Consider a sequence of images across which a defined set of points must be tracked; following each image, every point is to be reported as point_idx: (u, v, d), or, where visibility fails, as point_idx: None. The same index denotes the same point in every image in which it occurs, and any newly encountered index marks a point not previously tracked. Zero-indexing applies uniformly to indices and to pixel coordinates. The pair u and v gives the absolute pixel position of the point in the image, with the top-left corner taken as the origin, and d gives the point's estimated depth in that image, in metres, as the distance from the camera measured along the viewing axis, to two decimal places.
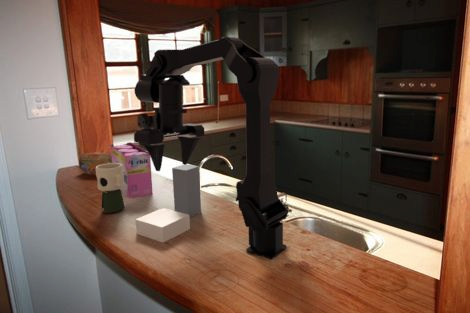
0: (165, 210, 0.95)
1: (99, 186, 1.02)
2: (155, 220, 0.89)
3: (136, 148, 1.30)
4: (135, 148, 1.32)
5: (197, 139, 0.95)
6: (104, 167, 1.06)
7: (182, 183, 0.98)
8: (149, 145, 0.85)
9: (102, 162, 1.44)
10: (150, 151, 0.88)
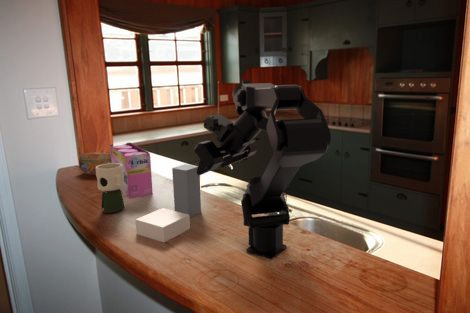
0: (165, 210, 0.95)
1: (99, 186, 1.02)
2: (155, 220, 0.89)
3: (136, 148, 1.30)
4: (135, 148, 1.32)
5: (245, 157, 0.95)
6: (104, 167, 1.06)
7: (182, 183, 0.98)
8: None
9: (102, 162, 1.44)
10: None
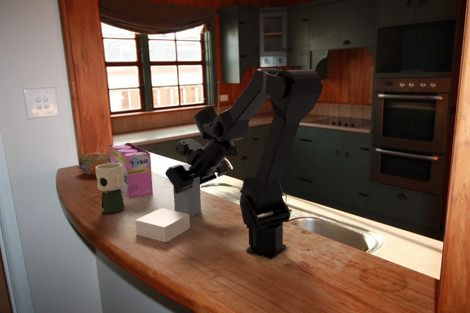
0: (164, 210, 0.95)
1: (99, 186, 1.02)
2: (156, 220, 0.88)
3: (135, 148, 1.30)
4: (134, 148, 1.31)
5: (212, 179, 1.01)
6: (104, 167, 1.06)
7: None
8: None
9: (102, 162, 1.44)
10: None
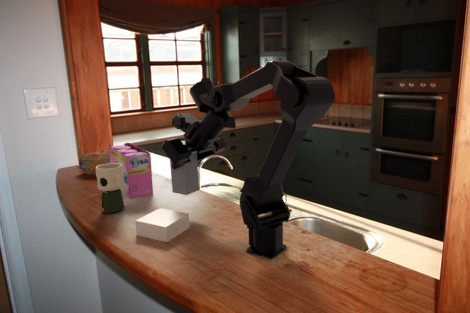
0: (163, 210, 0.95)
1: (99, 186, 1.02)
2: (156, 220, 0.88)
3: (135, 148, 1.30)
4: (134, 148, 1.31)
5: (210, 155, 0.98)
6: (104, 167, 1.06)
7: None
8: None
9: (102, 162, 1.44)
10: None
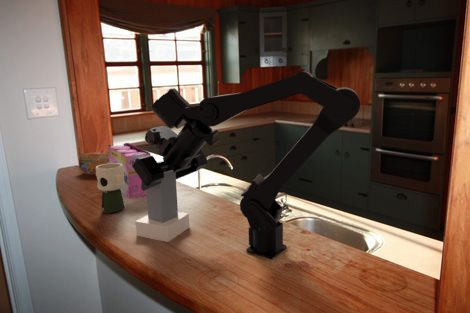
0: None
1: (99, 186, 1.02)
2: None
3: (134, 148, 1.30)
4: (133, 148, 1.31)
5: None
6: (104, 167, 1.06)
7: None
8: None
9: (102, 162, 1.44)
10: None
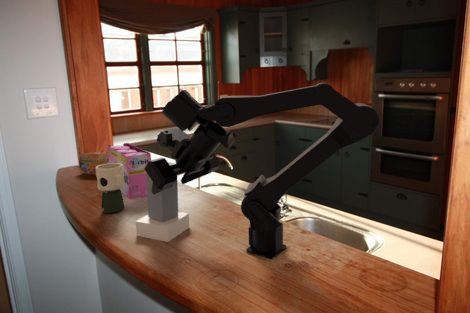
0: None
1: (99, 186, 1.02)
2: (157, 220, 0.88)
3: (134, 148, 1.30)
4: (133, 148, 1.31)
5: None
6: (104, 167, 1.06)
7: None
8: None
9: (102, 162, 1.44)
10: None
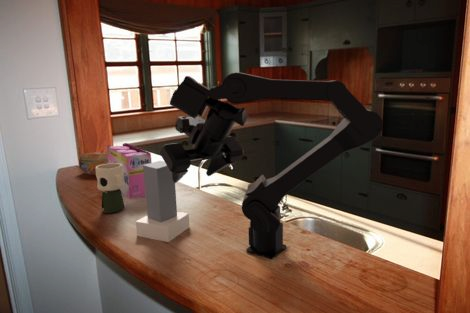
0: None
1: (99, 186, 1.02)
2: None
3: (133, 149, 1.29)
4: (132, 149, 1.31)
5: (230, 163, 0.85)
6: (104, 167, 1.06)
7: (153, 182, 0.86)
8: None
9: (102, 162, 1.44)
10: None
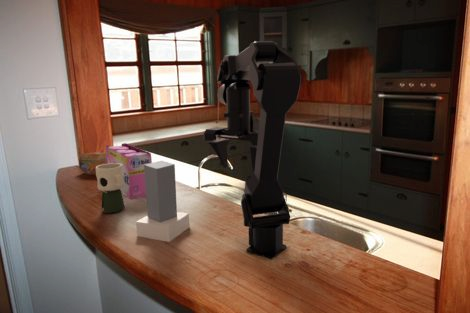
0: None
1: (99, 186, 1.02)
2: None
3: (133, 149, 1.29)
4: (131, 149, 1.30)
5: (254, 148, 0.88)
6: (104, 167, 1.06)
7: (153, 182, 0.86)
8: None
9: (102, 162, 1.44)
10: None
